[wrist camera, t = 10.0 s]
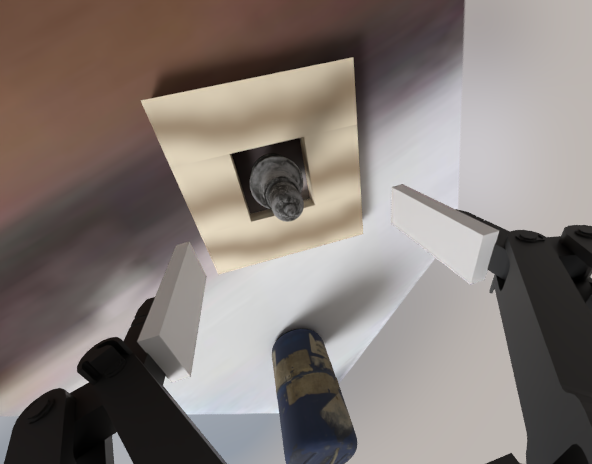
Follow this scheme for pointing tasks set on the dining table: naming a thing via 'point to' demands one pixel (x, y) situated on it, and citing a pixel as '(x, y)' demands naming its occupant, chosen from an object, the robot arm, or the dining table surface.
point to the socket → (256, 133)
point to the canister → (310, 402)
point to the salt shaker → (278, 186)
